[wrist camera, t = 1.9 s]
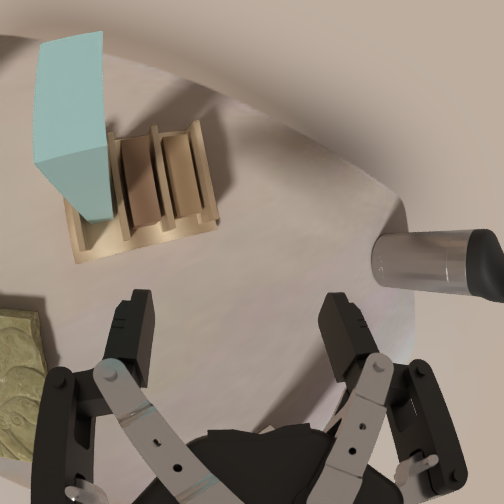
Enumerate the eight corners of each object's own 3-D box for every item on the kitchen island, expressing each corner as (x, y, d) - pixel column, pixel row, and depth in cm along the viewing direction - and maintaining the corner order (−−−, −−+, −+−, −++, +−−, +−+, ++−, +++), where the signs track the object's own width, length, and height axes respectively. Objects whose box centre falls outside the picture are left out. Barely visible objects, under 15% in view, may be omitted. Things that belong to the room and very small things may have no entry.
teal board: (106, 173, 27) (102, 30, 7) (113, 219, 28) (107, 145, 8) (83, 178, 26) (40, 43, 6) (91, 224, 26) (33, 163, 7)
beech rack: (194, 131, 32) (210, 110, 27) (214, 230, 33) (234, 226, 28) (60, 155, 25) (50, 136, 20) (76, 263, 27) (67, 266, 21)
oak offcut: (178, 147, 30) (187, 134, 27) (192, 216, 31) (202, 211, 28) (156, 150, 29) (162, 137, 26) (169, 221, 30) (177, 216, 27)
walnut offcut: (141, 152, 29) (146, 135, 24) (154, 224, 29) (161, 219, 25) (119, 156, 28) (120, 140, 23) (131, 229, 28) (134, 225, 24)
